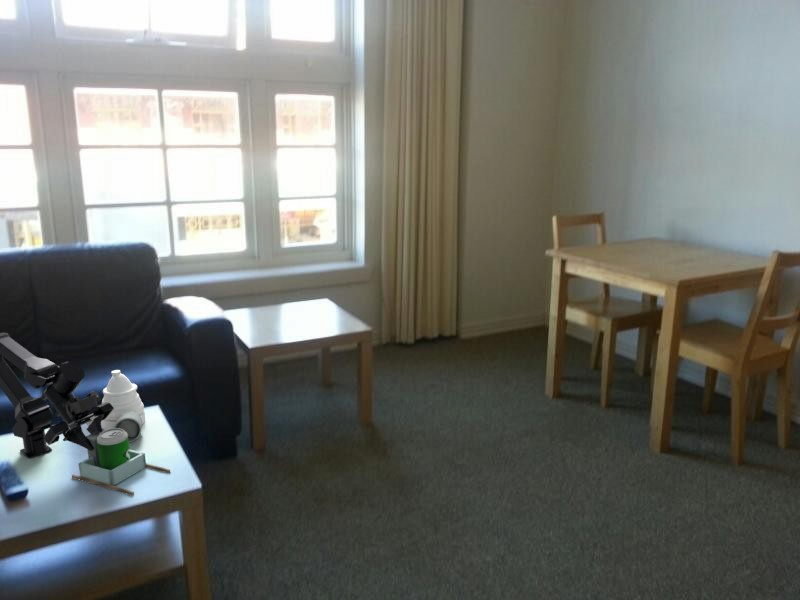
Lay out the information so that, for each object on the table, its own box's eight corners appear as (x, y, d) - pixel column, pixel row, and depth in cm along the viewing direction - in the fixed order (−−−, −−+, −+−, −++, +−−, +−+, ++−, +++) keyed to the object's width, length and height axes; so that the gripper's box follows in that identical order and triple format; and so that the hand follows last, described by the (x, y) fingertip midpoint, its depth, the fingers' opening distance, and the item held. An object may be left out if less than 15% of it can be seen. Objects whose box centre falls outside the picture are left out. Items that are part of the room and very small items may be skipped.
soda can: (125, 481, 174) (121, 438, 172) (96, 481, 174) (91, 439, 171) (135, 467, 182) (131, 426, 179) (108, 467, 181) (103, 427, 179)
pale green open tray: (77, 476, 176) (72, 442, 174) (112, 457, 187) (108, 425, 184) (112, 486, 171) (108, 452, 169) (146, 466, 181) (142, 433, 179)
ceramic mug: (144, 429, 205) (141, 406, 203) (142, 440, 197) (139, 416, 196) (107, 435, 202) (103, 411, 200) (104, 446, 194) (100, 422, 193)
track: (72, 477, 176) (71, 475, 176) (111, 456, 188) (111, 454, 187) (132, 495, 167) (132, 492, 167) (170, 472, 179) (170, 469, 179)
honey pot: (140, 430, 205) (134, 375, 200) (96, 433, 203) (89, 377, 198) (148, 413, 217) (143, 361, 213) (107, 416, 215) (101, 363, 211)
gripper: (45, 397, 169) (81, 445, 167) (105, 374, 185) (138, 417, 183) (29, 421, 174) (64, 468, 172) (88, 396, 190) (120, 439, 189)
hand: (98, 446), depth 179 cm, fingers closed on pale green open tray, 3 cm apart
